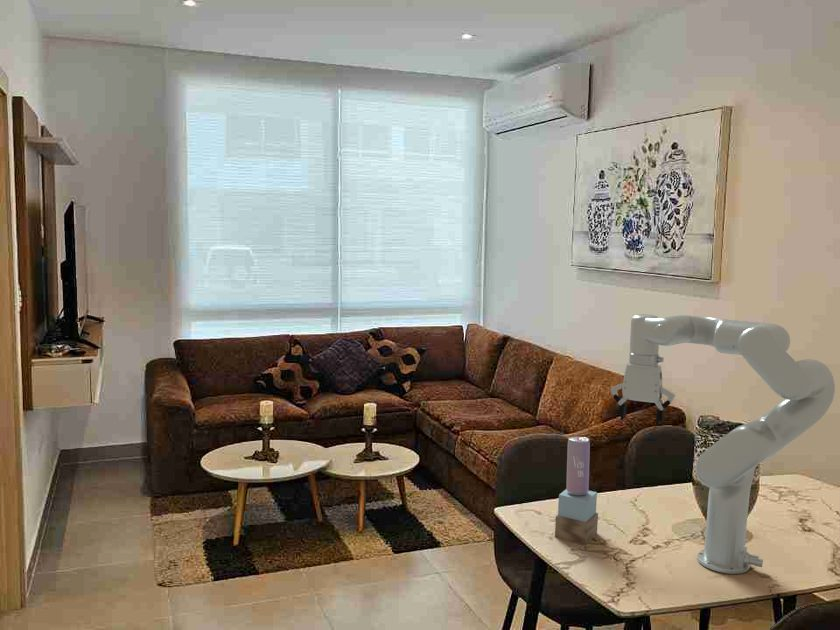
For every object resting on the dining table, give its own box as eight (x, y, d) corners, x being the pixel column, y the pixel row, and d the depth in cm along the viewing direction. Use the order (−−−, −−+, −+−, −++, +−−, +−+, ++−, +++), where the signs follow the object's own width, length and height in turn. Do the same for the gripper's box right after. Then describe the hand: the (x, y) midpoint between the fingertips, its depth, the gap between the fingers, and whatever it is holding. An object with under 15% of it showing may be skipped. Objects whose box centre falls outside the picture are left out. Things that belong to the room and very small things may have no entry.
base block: (596, 533, 214) (598, 512, 213) (586, 544, 206) (587, 523, 206) (566, 526, 219) (567, 506, 218) (554, 537, 211) (555, 516, 210)
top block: (595, 513, 213) (597, 492, 212) (585, 522, 206) (587, 500, 206) (568, 506, 217) (569, 486, 217) (557, 515, 211) (558, 494, 210)
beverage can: (587, 490, 214) (589, 437, 213) (588, 496, 208) (590, 441, 207) (565, 488, 215) (567, 435, 214) (566, 495, 209) (568, 440, 208)
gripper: (679, 360, 209) (675, 422, 211) (615, 355, 217) (612, 414, 219) (673, 365, 202) (670, 428, 204) (608, 358, 210) (605, 419, 212)
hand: (640, 421), depth 212 cm, fingers open, 9 cm apart
